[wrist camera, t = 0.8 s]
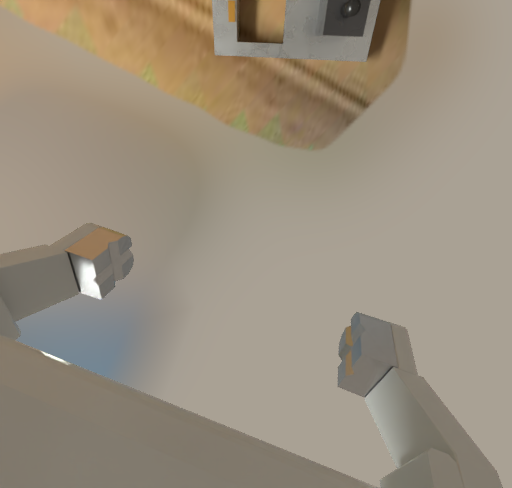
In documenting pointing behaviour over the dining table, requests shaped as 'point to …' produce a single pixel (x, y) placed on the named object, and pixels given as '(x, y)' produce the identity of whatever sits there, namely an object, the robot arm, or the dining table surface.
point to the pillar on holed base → (303, 30)
